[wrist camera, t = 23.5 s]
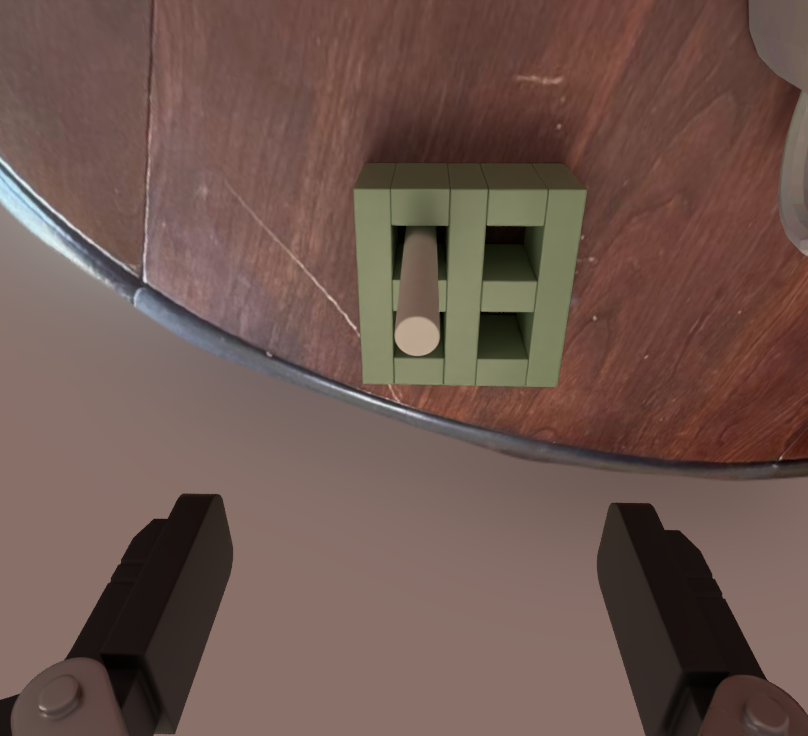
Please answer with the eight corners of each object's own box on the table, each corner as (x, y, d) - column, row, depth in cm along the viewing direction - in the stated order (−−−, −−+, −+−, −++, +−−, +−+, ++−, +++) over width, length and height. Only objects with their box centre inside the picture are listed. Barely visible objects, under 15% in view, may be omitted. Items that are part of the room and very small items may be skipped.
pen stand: (370, 337, 34) (362, 384, 30) (364, 162, 29) (352, 188, 25) (541, 340, 34) (557, 387, 30) (564, 163, 29) (588, 189, 24)
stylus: (407, 232, 31) (394, 356, 20) (406, 203, 30) (393, 315, 19) (435, 232, 31) (439, 357, 20) (436, 203, 30) (440, 316, 19)
